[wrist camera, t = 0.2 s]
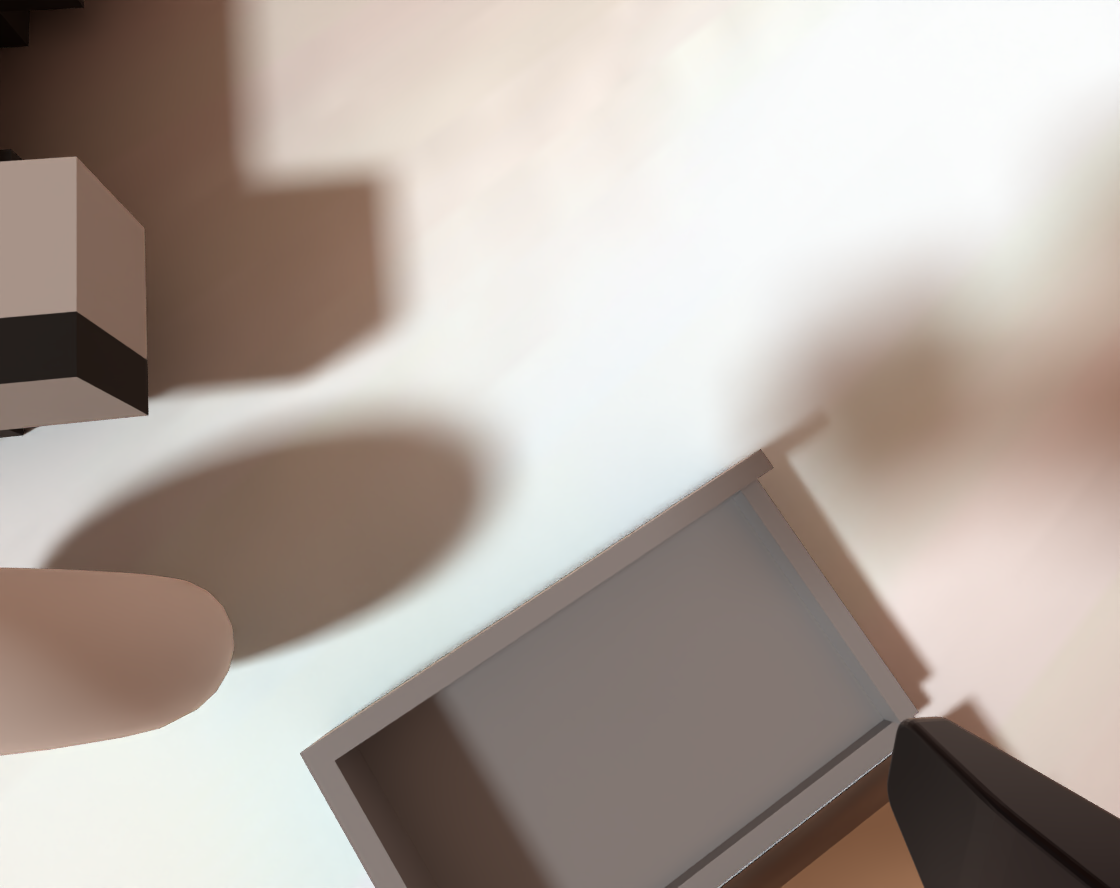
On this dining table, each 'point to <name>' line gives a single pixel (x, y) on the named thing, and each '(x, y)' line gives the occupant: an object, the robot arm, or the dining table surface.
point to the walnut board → (840, 846)
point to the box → (624, 717)
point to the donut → (103, 655)
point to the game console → (66, 284)
